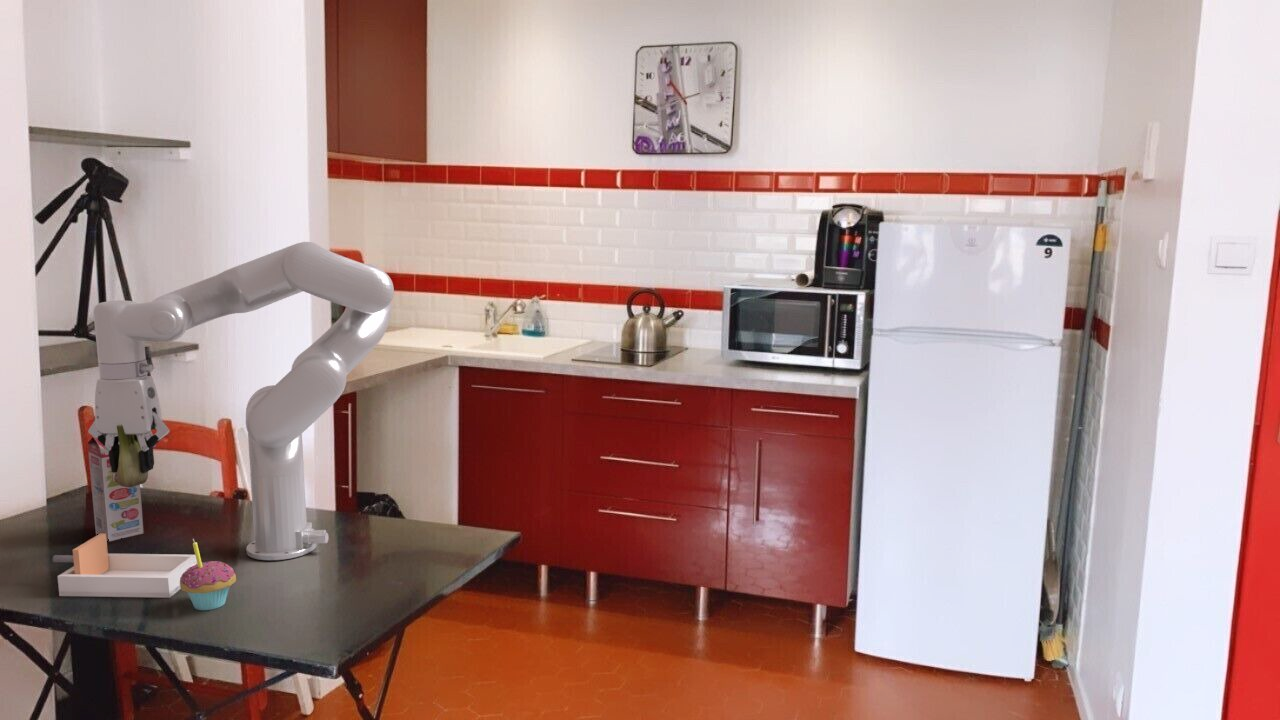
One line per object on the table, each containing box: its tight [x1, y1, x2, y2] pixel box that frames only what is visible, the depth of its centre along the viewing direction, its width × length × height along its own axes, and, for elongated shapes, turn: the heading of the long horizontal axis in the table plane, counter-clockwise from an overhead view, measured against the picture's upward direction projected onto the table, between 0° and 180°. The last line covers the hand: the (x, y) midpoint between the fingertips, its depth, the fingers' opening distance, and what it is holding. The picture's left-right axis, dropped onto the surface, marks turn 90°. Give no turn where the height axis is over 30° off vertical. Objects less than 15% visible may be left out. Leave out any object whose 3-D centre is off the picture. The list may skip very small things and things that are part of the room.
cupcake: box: [180, 538, 237, 611], centre depth 168 cm, size 9×8×12 cm
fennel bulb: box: [117, 425, 149, 487], centre depth 182 cm, size 6×5×12 cm
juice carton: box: [87, 436, 145, 542], centre depth 202 cm, size 7×7×22 cm
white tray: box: [57, 553, 197, 599], centre depth 177 cm, size 19×11×4 cm, turn 88°
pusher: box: [52, 533, 109, 575], centre depth 177 cm, size 7×8×7 cm
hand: (132, 469), depth 183 cm, fingers closed on fennel bulb, 4 cm apart
